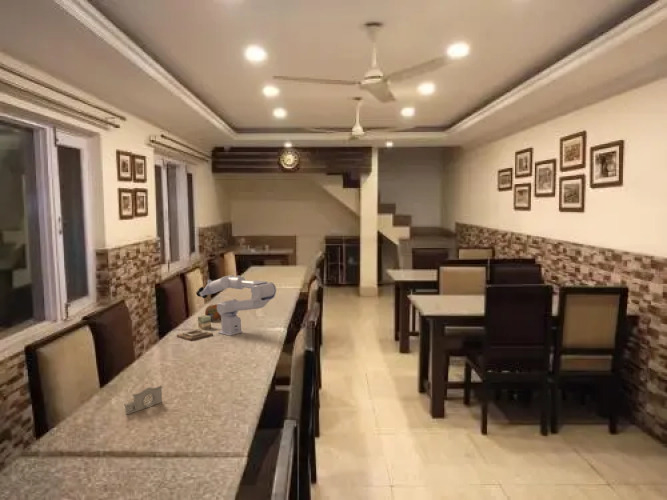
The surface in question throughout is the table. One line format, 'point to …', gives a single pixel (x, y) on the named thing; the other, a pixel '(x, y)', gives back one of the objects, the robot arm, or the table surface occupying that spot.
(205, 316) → the stack
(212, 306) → the tin
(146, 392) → the garden wall model
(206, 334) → the plate
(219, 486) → the table surface
